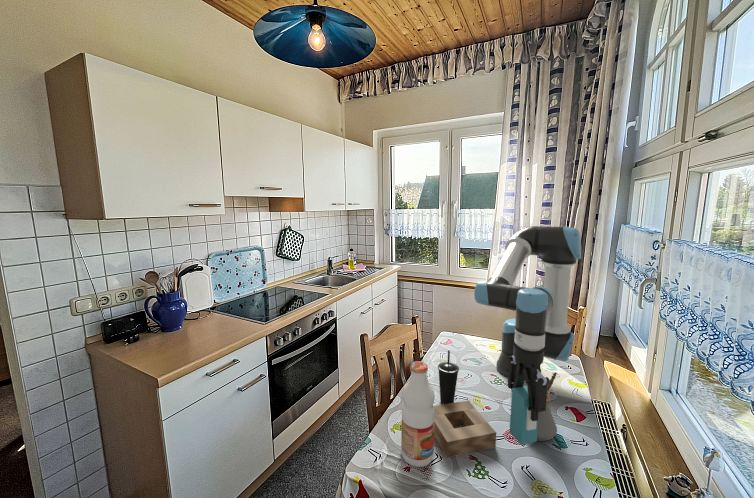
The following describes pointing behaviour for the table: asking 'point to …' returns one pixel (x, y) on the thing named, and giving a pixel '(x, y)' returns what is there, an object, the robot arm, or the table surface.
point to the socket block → (462, 429)
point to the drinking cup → (447, 380)
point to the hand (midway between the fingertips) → (523, 421)
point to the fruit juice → (418, 418)
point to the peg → (521, 417)
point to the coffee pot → (546, 419)
